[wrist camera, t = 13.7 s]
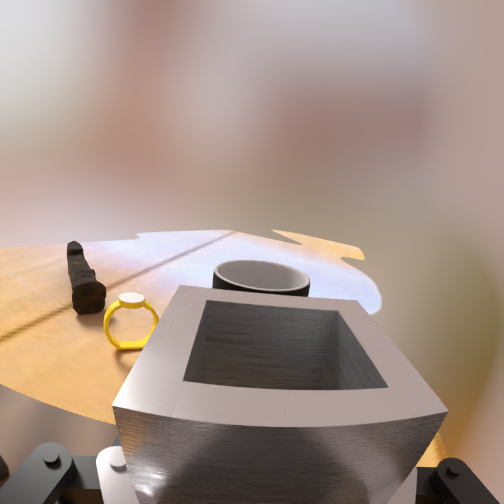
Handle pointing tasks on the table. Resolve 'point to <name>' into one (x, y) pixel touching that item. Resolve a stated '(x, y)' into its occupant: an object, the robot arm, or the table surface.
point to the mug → (260, 278)
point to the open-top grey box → (271, 404)
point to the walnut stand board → (45, 430)
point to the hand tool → (84, 282)
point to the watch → (129, 302)
